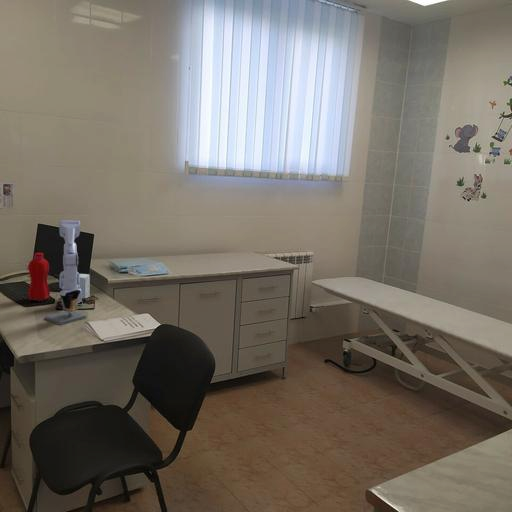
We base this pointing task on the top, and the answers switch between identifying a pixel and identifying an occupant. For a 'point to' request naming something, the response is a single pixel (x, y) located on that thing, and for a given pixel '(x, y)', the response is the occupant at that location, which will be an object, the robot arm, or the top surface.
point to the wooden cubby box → (72, 306)
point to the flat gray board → (64, 317)
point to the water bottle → (38, 277)
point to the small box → (85, 285)
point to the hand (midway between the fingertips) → (70, 306)
